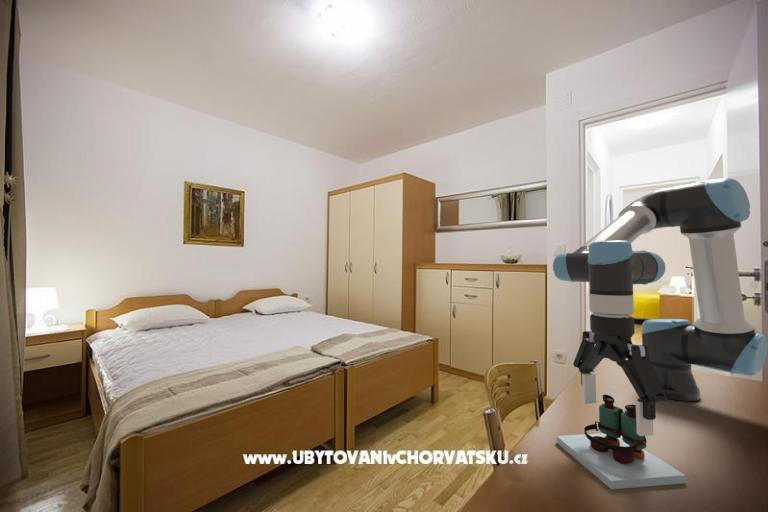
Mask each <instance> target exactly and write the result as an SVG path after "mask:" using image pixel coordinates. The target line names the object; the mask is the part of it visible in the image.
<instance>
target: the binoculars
mask: <svg viewBox="0 0 768 512" xmlns="http://www.w3.org/2000/svg"><path fill="white" fill-rule="evenodd" d="M602 401H603V403H602V404H600V405H599V407H598V413H599V414H598V415H599V416H598V417H599V418H598V421H596V420H595V421H594V423H593V424H590V425H589V424H588V425H586V426H584V429H583V431H584V434H585V435H586V437H587V438H588V439H589V440H590V445H591V447H592V448H593V449H594V450H596V451H599V452H607V451H608V450H609V449H611V450H613V451H612V454H613V457H614V460H615V461H617V462H619V463H623V464H629V463H632V462H633V461H634V459H633V456H634V457H638V458H645V456H644V451H642V449H644V450H646V448H647V437H646V436H639V435H638V434H637V427H636V404H626V405H625V406H624V409H625V410H623V408H621V407H618V406H616V405H614V404H615V402H616V401H615V398H614V397H613V396H611V395H609V394H603V395H602ZM591 430H592V431H593V430H595V432H598V431H599V432H601V433H604V434H606V436H605V437H600V436H593V437H592V436H590V435H589V434H590V433H588V431H591ZM621 436H622V439H623V441H624V442H625V443H626V444H628V445H629V446H628V447H622V446H620V440H619V439H617V438H620V437H621Z"/></svg>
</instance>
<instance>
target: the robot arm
mask: <svg viewBox="0 0 768 512" xmlns="http://www.w3.org/2000/svg"><path fill="white" fill-rule="evenodd" d="M750 209H751V204H750V200H749V197H748V194H747V192H746V190H745V188H744V187H743V185H742V184H741V183H740V181H738V180H736V179H734V178H731V177H730V178H729V177H725V178H723V177H722V178H716V179H715V178H714V179H708V180H703V181H698V182H693V183H687V184H683V185H677V186H672V187H666V188H661V189H657V190H655V191H652V192H649V193H647V194H645V195H643V196H641V197H640V198H638V199H636V200H634V201H633V202H631V203H630V204H628V205H626V206H625V207H624V208H623V209H621V211H620V212H619V213H618V217H617V218H616V219H614V220H613V221H611V222H610V223H609V224H608V225H607V226H606V227H604V228H602V229H601V230H600V231H599V232H598V233H596V234H595V235H594V236H593V237H591V238H590V239H589V240H587V242H585V243H584V244H583V245H581V246H580V247H579V248H577V249H576V250H574V252H565V253H559V254H557V255H556V256H555V257H554V259H553V262H552V271H553V273H554V276H555V277H556V278H557V279H558V280H560V281H565V282H571V283H575V282H579V283H588V284H589V285H588V286H589V289H588V290H589V293H588V295H589V296H588V298H589V299H588V300H589V301H588V302H589V303H588V304H589V305H588V306H589V312H591V314H590V315H589V326H590V327H589V328H590V330H587V331H586V330H584V331H582V334H581V335H582V337H581V343H580V346H579V348H578V351H577V353H576V354H575V355H576V356H575V357H574V361H573V363H572V364H573V367H574V368H577V369H578V370H579V373H580V384H581V387H582V388H581V389H582V402H583V404H596V403H597V386H596V384H597V381H596V373H595V372H596V371H594V370H595V369H596V367H598V365H599V364H600V363H601V362H602V361H603V359H608V360H610V361H613V362H614V363H616V365H617V366H618V367H620V368H621V369H622V371H623V372H624V374H625V377H627V379H628V382H629V383H630V384H631V386H632V388H633V389H634V391H635V393H636V395H638V398H635V405H636V427H637V434H638V435H639V436H645V437H646V436H654V433H655V432H654V421H655V420H656V416H657V411H656V408H657V407H656V403H664V402H668V399H669V400H675V401H679V402H680V401H681V402H682V401H683V402H696V401H699V400H701V391H700V388H699V387H698V385H697V382H696V379H695V377H694V374H693V371H692V365H694V366H697V367H698V366H699V367H703V368H706V369H707V368H708V369H710V370H711V369H712V370H716V371H719V372H720V371H721V372H726V373H730V374H732V375H733V374H735V375H741V376H747V377H753V376H756V375H757V374H759V373H760V372H761V370H762V369H763V366H764V364H765V362H766V358H767V354H768V353H767V352H768V340H767V337H766V335H764V334H761V333H760V332H759V333H756V331H755V330H756V329H755V325H754V324H753V323H751V322H749V320H747V319H745V311H744V310H745V309H744V305H743V297H742V290H741V289H742V288H741V281H740V274H739V267H738V266H739V265H738V259H737V249H736V243H735V236H734V234H735V233H736V232H737V231H739V230H740V229H741V228H742V222H743V221H746V220H748V219H749V217H750V215H751V211H750ZM674 227H679V231H680V234H681V235H683V236H685V237H686V238H687V239H688V240H689V241H688V242H689V247H690V248H689V249H690V255H691V262H692V263H691V265H692V270H693V276H694V284H695V291H696V296H697V297H696V298H697V299H696V300H697V305H698V310H699V311H698V312H699V318H698V319H697V320H695V321H694V322H693V325H692V323H691V321H690V320H689V319H684V318H683V319H682V318H681V319H680V318H655V319H654V318H653V319H652V318H651V319H646V320H644V321H643V322H642V324H641V325H642V327H641V328H642V329H641V342H642V343H641V344H634V343H633V341H632V337H633V336H634V335H635V331H636V328H635V318H634V317H633V316H632V315H634V312H635V311H634V309H635V307H634V285H648V284H653V283H655V282H657V281H659V280H660V279H661V278H662V277H663V276H664V274H665V272H666V262H665V261H664V259H663V258H662V257H661V256H660V255H659V254H656V253H655V252H652V251H647V250H644V249H642V250H633V247H632V243H633V242H634V241H635V240H637V239H638V238H639V237H640V236H641V235H647V234H649V233H650V232H651V231H653V230H656V229H663V228H664V229H665V228H674Z"/></svg>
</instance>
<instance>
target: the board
mask: <svg viewBox="0 0 768 512" xmlns="http://www.w3.org/2000/svg"><path fill="white" fill-rule="evenodd" d="M588 434H589V435H590V436H592V437H593V436H600V437H605V436H606V434H604V433H602V432H601V433H600V432H599V433H588ZM617 439H619V440H620V446H622V447H628V446H629V445H628V444H626V443H625V442H624V441H623V439H622V436H621V437H620V438H617ZM556 444H558V445H559V446H560V447H561V448H562V449H564V450H565V451H566V452H567V453H568V454H569V455H571V456H572V457H573V458H574V459H575V460H576V461H578V462H579V463H580V464H581V465H582V466H583V467H584V468H585V469H587V470H588V471H589V472H590V473H591V474H592V475H594V476H595V477H596V478H598V480H600V481H601V482H602V483H603V484H604V485H605V486H606V487H608V488H609V489H610V490H620V489H621V490H623V489H633V488H634V489H635V488H644V487H645V488H647V487H656V486H657V487H658V486H670V485H671V486H672V485H682V484H686V475H685V474H684V473H683V472H682V471H679V470H678V469H677V468H674V467H673V466H671V465H670V464H668V463H666V462H665V461H664V460H662V459H660V458H659V457H658V456H655V455H654V454H652V453H651V452H650V451H647V450H646V449H642V451H644V456H645V458H638V457H634V456H633V459H634V461H633V462H632V463H629V464H623V463H619V462H617V461H615V460H614V457H613V454H612V451H613V450H611V449H609V450H608V451H607V452H599V451H596V450H594V449H593V448H592V447H591V445H590V440H589V439H588V438H587V437H586V435H585V433H583V434H570V435H569V434H568V435H556Z"/></svg>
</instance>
